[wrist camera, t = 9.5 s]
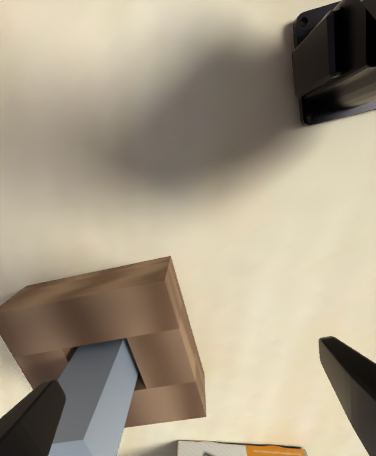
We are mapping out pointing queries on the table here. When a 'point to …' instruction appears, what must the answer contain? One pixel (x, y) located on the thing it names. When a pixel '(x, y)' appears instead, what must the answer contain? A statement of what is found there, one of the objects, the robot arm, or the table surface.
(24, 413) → the robot arm
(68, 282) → the mortise block
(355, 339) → the table surface
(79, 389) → the tenon peg
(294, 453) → the hard drive box
